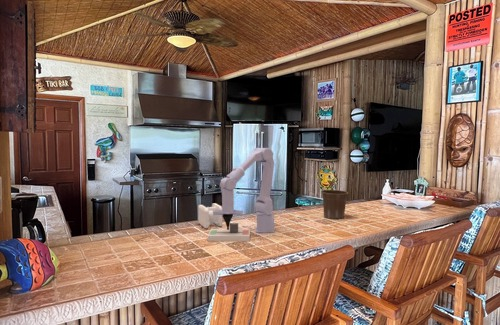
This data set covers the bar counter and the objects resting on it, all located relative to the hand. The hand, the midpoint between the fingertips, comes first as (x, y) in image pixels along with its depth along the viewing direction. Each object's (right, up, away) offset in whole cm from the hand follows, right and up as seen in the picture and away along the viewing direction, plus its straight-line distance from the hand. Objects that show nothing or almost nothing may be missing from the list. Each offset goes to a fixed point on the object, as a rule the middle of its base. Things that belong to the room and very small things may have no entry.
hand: (228, 229), depth 156 cm
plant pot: (+64, -1, +42) cm, 76 cm away
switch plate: (+1, -4, 0) cm, 4 cm away
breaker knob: (+3, -1, 0) cm, 3 cm away
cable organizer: (-12, -3, +23) cm, 26 cm away
